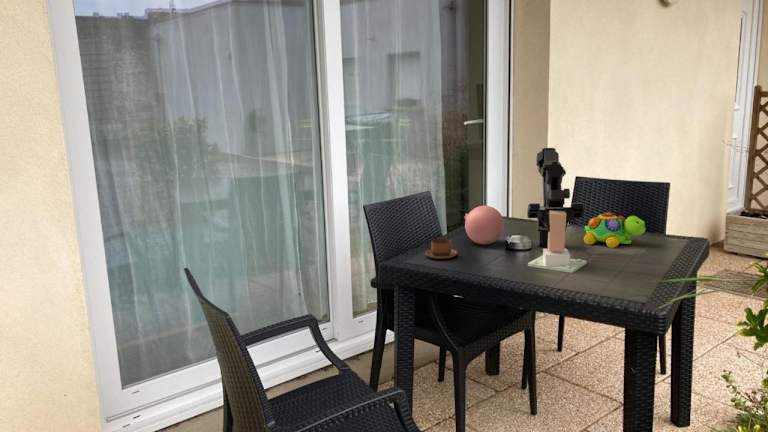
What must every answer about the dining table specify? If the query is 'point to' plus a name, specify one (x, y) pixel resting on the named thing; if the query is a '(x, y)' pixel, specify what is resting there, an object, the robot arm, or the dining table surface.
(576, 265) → the tower base
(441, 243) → the cup and saucer
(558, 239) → the column brick
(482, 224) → the balloon
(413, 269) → the dining table surface
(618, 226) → the turtle toy
